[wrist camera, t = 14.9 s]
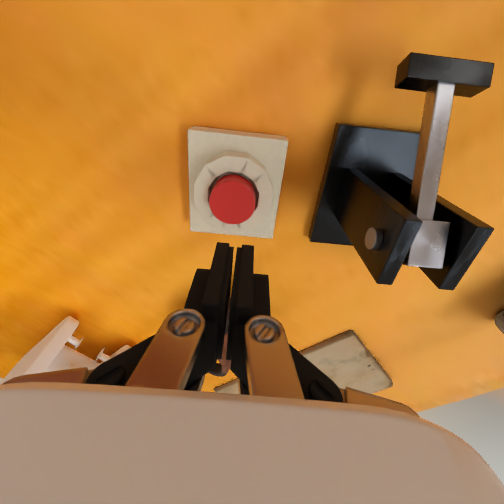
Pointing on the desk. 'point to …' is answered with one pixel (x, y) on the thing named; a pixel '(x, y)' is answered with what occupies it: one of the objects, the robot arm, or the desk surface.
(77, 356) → the cable organizer
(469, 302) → the desk surface
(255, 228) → the control block
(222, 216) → the button
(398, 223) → the bracket
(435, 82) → the lever
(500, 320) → the digital clock
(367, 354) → the board
